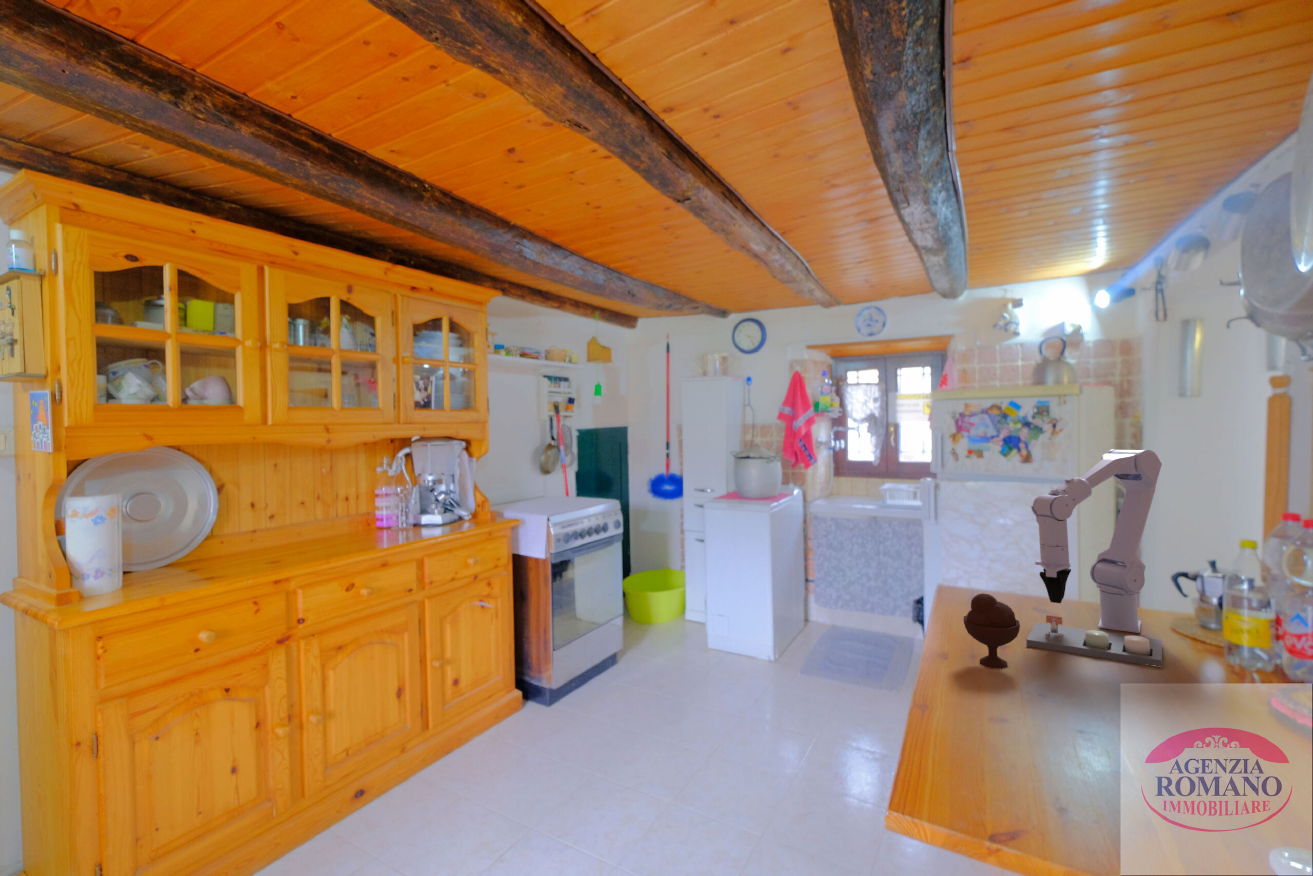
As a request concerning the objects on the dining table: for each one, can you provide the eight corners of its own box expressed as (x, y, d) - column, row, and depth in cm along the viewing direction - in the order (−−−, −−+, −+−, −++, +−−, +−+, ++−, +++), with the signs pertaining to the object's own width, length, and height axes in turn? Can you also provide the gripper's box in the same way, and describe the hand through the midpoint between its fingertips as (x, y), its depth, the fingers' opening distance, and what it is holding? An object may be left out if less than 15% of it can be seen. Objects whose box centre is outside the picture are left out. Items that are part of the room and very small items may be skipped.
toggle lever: (1047, 632, 139) (1047, 615, 140) (1062, 634, 137) (1062, 617, 138) (1046, 631, 138) (1046, 615, 139) (1061, 633, 136) (1061, 617, 137)
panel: (1036, 628, 149) (1035, 618, 149) (1162, 646, 133) (1161, 635, 133) (1026, 645, 138) (1026, 635, 138) (1162, 667, 122) (1161, 655, 122)
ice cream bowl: (965, 670, 127) (961, 600, 127) (966, 652, 137) (962, 587, 136) (1024, 677, 122) (1019, 604, 122) (1019, 657, 132) (1016, 590, 131)
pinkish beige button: (1125, 647, 131) (1124, 634, 131) (1150, 650, 128) (1149, 637, 128) (1124, 653, 128) (1123, 640, 128) (1149, 656, 125) (1149, 643, 125)
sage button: (1086, 641, 135) (1085, 629, 135) (1109, 644, 133) (1108, 632, 133) (1084, 647, 132) (1084, 634, 132) (1108, 650, 130) (1107, 637, 129)
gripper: (1039, 538, 151) (1042, 591, 151) (1029, 548, 140) (1032, 605, 140) (1072, 540, 147) (1075, 594, 147) (1065, 551, 136) (1068, 610, 136)
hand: (1057, 600), depth 143 cm, fingers open, 3 cm apart
